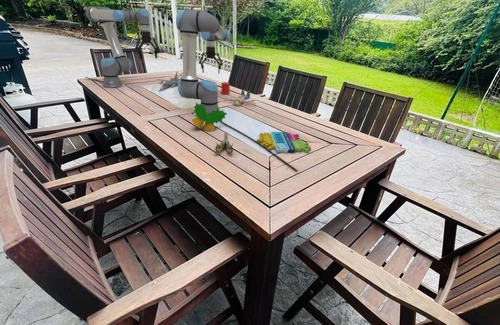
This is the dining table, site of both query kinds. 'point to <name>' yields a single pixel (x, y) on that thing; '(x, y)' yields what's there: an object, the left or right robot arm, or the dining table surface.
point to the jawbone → (224, 145)
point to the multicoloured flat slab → (283, 142)
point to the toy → (241, 99)
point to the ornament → (207, 117)
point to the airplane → (169, 82)
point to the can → (225, 88)
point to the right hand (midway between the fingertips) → (211, 73)
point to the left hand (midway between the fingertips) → (148, 58)
